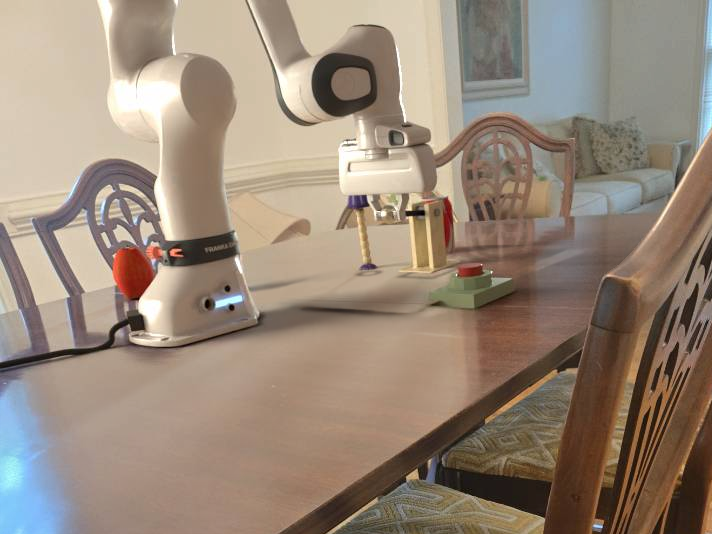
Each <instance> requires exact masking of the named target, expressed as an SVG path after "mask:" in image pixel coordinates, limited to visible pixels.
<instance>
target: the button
mask: <svg viewBox="0 0 712 534" xmlns="http://www.w3.org/2000/svg"><path fill="white" fill-rule="evenodd" d="M483 270H484V268H483V264H482V263H481V262H468V263H462V264H459V265H457V272H458V275H459V277H473V276H479V275H482V274H483Z"/></svg>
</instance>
